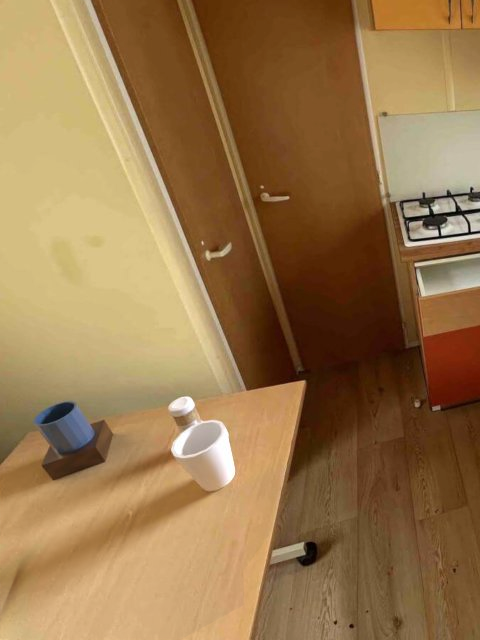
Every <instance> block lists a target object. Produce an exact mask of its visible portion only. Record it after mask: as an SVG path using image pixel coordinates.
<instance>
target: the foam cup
mask: <svg viewBox="0 0 480 640" xmlns="http://www.w3.org/2000/svg"><path fill="white" fill-rule="evenodd" d="M202 421H203V422H200V423H198V424H195V425H193V426H191V427H189V428H188V429H186V430H185V431H184V432H182V433H181V432H180V433H179V434H178V436H177V437H176V438H175V439H174V440H173V442H172V445H171V448H170V452H171V453H172V455H173V457H174V458H175V461H176V462H177V464H178V465H180V466H181V467H183V469H184V470H185V471H186V472H187V473H188V474H189V476H191V477H192V479H193V480H194V481H195V482H196V484H198V485H199V486H200V488H201V489H202V490H203V491H205V492H209V493H210V492H216V491H218V490H219V491H220V489H223V488H224V487H226V486H227V485H228V484H230V483H231V482H232V480H233V478H234V477H235V474H236V467H235V462H234V458H233V453H232V448H231V444H230V439H229V432H228V429H227V427H226V426H225V424H224V423H223V421H220V420H216V419H210V420H202Z"/></svg>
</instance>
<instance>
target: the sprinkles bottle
mask: <svg viewBox="0 0 480 640" xmlns="http://www.w3.org/2000/svg"><path fill="white" fill-rule="evenodd" d="M167 410H168V412H169V415H170V416H171V417H172V418H173V420H174V422H175V425H176V426H177V428H178V431H179V433H180V434H181V433H182V432H184V431H185V430H186V429H188V428H189V427H191V426H193V425H195V424H198V423H200V422H203V421H204V420H203V419H202V418H201V416H200V415H199V412H198V410H197V409H196V405H195V402H194V400H193V398H192V397H191V396H181V397H178V398H176V399H174V400H173V401H172V402H171V403H169V405H168V406H167Z"/></svg>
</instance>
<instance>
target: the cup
mask: <svg viewBox="0 0 480 640" xmlns="http://www.w3.org/2000/svg"><path fill="white" fill-rule="evenodd" d="M32 423H33V425H34V426H35V428H36V429H37V431H38V432H39V433H40V435H42V437H43V439H45V441H46V442H47V444H48V445H49V446H51V448H52V449H53V450H54V451H55V452H56V453H59V454H64V453H69V452H72V451H74V450H77V449H79V448H80V447H82V446H84V445H85V444H86V443H88V442H89V441H90V440H91V439H92V438H93V436H94V433H95V432H94V430H93V428H92V427H91V425H90V424H91V423H90V422H89V421H88V419H87V417H86V416H85V414H84V413H83V411H82V410H81V408H80V407H79V405H78V404H77V401H73V400H67V401H61V402H58V403H55V404H53V405H51V406H48V407H46V408H45V409H44V410H42V411H39V413H38V414H37V415H36V416H35V417H34V418H33V420H32Z"/></svg>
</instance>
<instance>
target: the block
mask: <svg viewBox="0 0 480 640" xmlns="http://www.w3.org/2000/svg"><path fill="white" fill-rule="evenodd" d="M89 424H90V425H91V427H92V428H93V430H94V432H95V433H94V436H93V438H92V439H91V440H90V441H89V442H88V443H86V444H85V445H84V446H82V447H80V448H79V449H77V450H74V451H72V452H69V453H64V454H59V453H56V452H55V451H54V450H53V449H52V448H51V446H50V445H49V446H48V449H47V451H46V452H45V453H46V454H45V456H44V459H43V461H42V462H41V465H40V466H41V468H43V470H44V471H45V472H46V474H47V475H48V476H49V477H50V479H51V480H52V481H55V480H58V479H60V478H64V477H66V476H68V475H71V474H72V475H73V474H74V473H77V472H79V471H83V470H87V469H88V468H92V467H94V466H97V465H100V464H102V463H106V461H107V457H108V454H109V451H110V447H111V443H112V439H113V435H114V433H113V431H112V429H111V428H110V426H109V425H108V423H107V422H106V420H105V419H102V420H99V421H96V422H92V423H89Z"/></svg>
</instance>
